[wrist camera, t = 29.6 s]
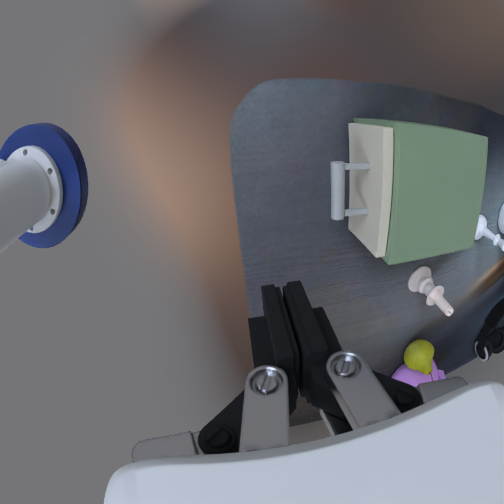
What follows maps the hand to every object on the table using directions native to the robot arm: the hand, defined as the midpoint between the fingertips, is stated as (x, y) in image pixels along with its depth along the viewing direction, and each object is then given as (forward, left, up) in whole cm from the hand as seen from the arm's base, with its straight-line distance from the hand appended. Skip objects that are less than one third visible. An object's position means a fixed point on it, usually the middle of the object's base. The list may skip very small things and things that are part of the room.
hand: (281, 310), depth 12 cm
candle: (+33, +7, -22) cm, 40 cm away
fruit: (+49, -3, -22) cm, 54 cm away
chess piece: (+37, +23, -22) cm, 49 cm away
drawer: (+12, +12, -21) cm, 27 cm away
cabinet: (+15, +15, -22) cm, 31 cm away
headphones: (+80, +18, -22) cm, 85 cm away
